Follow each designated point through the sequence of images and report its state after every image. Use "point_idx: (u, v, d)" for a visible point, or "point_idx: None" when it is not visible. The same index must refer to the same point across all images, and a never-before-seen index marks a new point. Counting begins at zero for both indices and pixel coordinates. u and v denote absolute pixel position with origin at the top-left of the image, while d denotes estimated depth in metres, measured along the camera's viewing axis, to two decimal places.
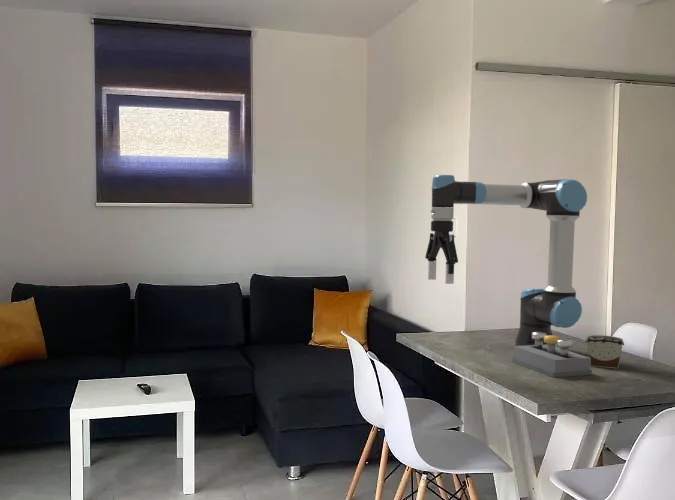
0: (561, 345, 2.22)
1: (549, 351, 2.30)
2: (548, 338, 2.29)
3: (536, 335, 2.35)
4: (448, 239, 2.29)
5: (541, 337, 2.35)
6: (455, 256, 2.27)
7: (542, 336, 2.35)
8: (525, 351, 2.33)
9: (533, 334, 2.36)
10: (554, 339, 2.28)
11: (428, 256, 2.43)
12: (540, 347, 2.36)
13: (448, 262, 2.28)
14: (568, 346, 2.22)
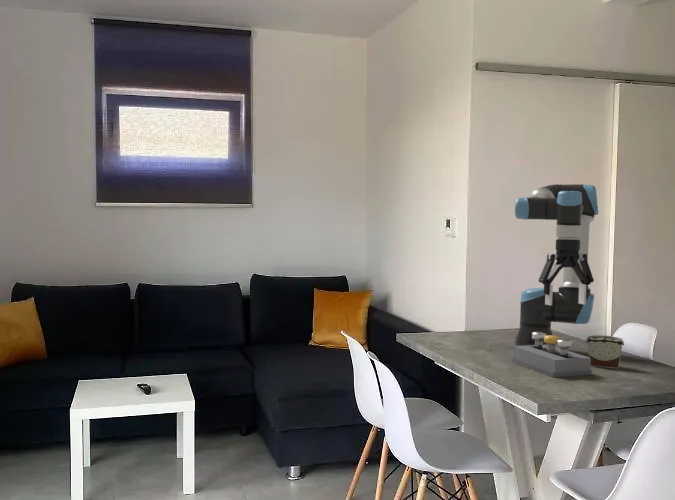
0: (561, 345, 2.22)
1: (549, 351, 2.30)
2: (548, 338, 2.29)
3: (536, 335, 2.35)
4: (547, 258, 2.21)
5: (541, 337, 2.35)
6: (543, 276, 2.19)
7: (542, 336, 2.35)
8: (525, 351, 2.33)
9: (533, 334, 2.36)
10: (554, 339, 2.28)
11: None
12: (540, 347, 2.36)
13: None
14: (568, 346, 2.22)
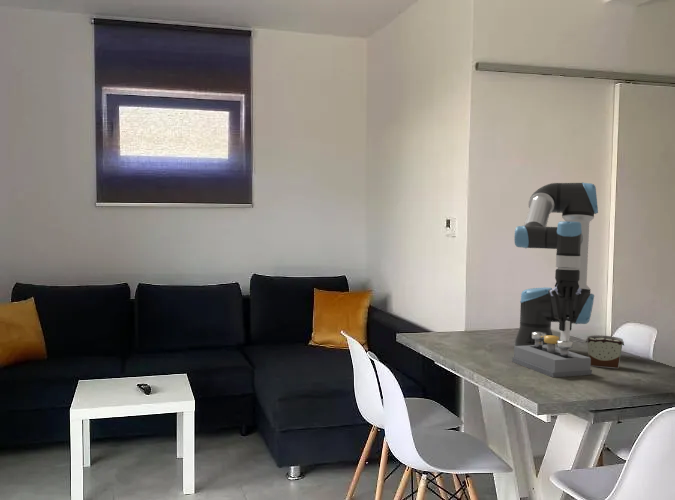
0: (561, 346, 2.22)
1: (549, 351, 2.30)
2: (548, 338, 2.29)
3: (536, 335, 2.35)
4: (550, 295, 2.22)
5: (541, 337, 2.35)
6: (556, 313, 2.21)
7: (542, 336, 2.35)
8: (525, 351, 2.33)
9: (533, 334, 2.36)
10: (554, 339, 2.28)
11: None
12: (540, 347, 2.36)
13: (558, 319, 2.24)
14: (568, 347, 2.22)
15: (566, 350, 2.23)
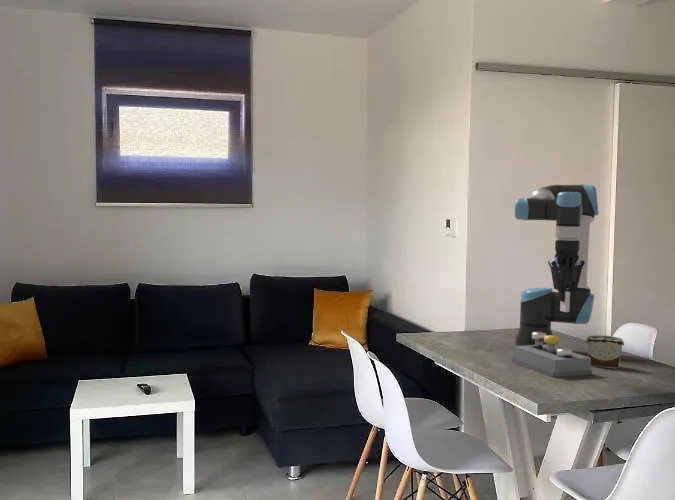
0: (561, 354, 2.22)
1: (549, 351, 2.30)
2: (548, 338, 2.29)
3: (536, 335, 2.35)
4: (550, 266, 2.22)
5: (541, 337, 2.35)
6: (556, 284, 2.22)
7: (542, 336, 2.35)
8: (525, 351, 2.33)
9: (533, 334, 2.36)
10: (554, 339, 2.28)
11: None
12: (540, 347, 2.36)
13: (558, 290, 2.25)
14: (568, 355, 2.22)
15: None
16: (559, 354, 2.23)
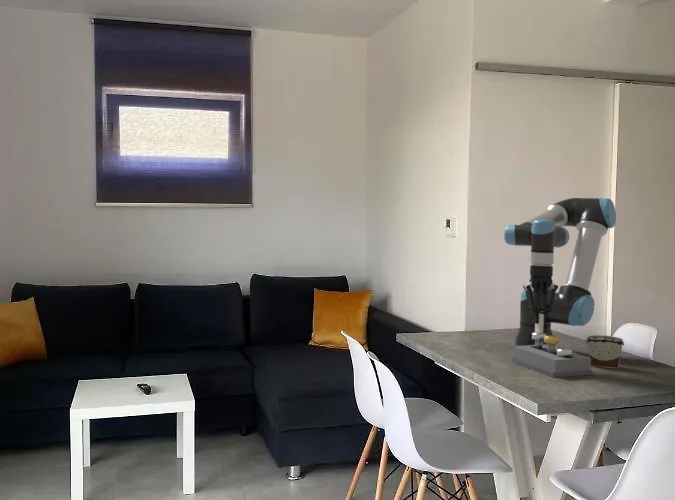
0: (561, 354, 2.22)
1: (549, 351, 2.30)
2: (548, 338, 2.29)
3: (536, 335, 2.35)
4: (525, 289, 2.35)
5: (541, 338, 2.35)
6: (531, 307, 2.35)
7: (542, 336, 2.35)
8: (525, 351, 2.33)
9: (533, 334, 2.36)
10: (554, 339, 2.28)
11: None
12: (540, 347, 2.36)
13: (533, 312, 2.37)
14: (568, 355, 2.22)
15: None
16: (559, 354, 2.23)
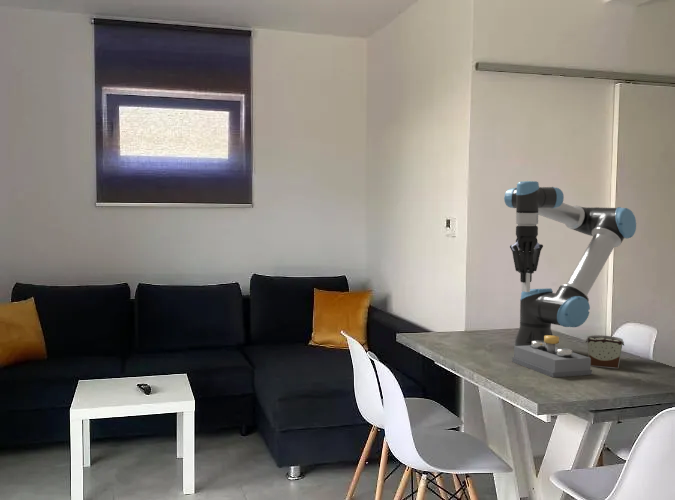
0: (561, 354, 2.22)
1: (549, 351, 2.30)
2: (548, 338, 2.29)
3: (536, 344, 2.35)
4: (512, 250, 2.41)
5: (540, 346, 2.35)
6: (518, 266, 2.40)
7: (542, 345, 2.35)
8: (525, 351, 2.33)
9: (533, 343, 2.37)
10: (554, 339, 2.28)
11: None
12: None
13: (519, 272, 2.43)
14: (568, 355, 2.22)
15: None
16: (559, 354, 2.23)
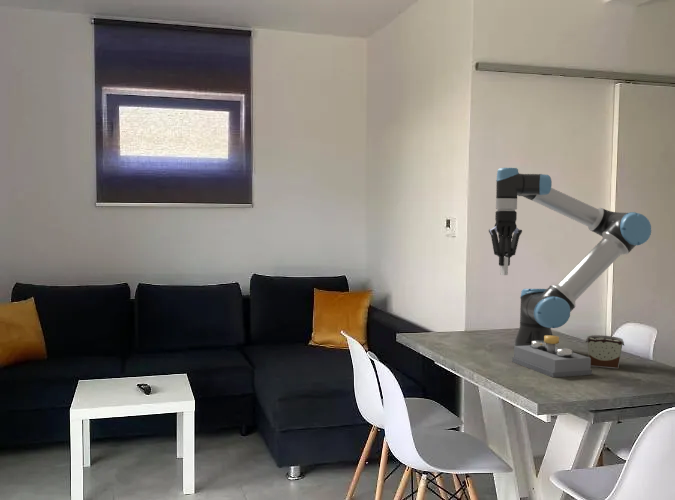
0: (561, 354, 2.22)
1: (549, 351, 2.30)
2: (548, 338, 2.29)
3: (536, 344, 2.35)
4: (490, 233, 2.49)
5: (540, 346, 2.35)
6: (496, 250, 2.49)
7: (542, 345, 2.35)
8: (525, 351, 2.33)
9: (533, 343, 2.37)
10: (554, 339, 2.28)
11: None
12: None
13: (498, 255, 2.51)
14: (568, 355, 2.22)
15: None
16: (559, 354, 2.23)
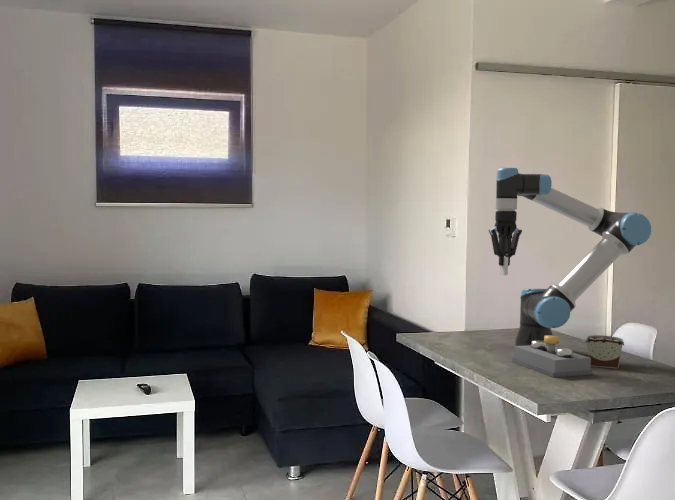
0: (561, 354, 2.22)
1: (549, 351, 2.30)
2: (548, 338, 2.29)
3: (536, 344, 2.35)
4: (490, 233, 2.49)
5: (540, 346, 2.35)
6: (496, 250, 2.49)
7: (542, 345, 2.35)
8: (525, 351, 2.33)
9: (533, 343, 2.37)
10: (554, 339, 2.28)
11: None
12: None
13: (498, 255, 2.51)
14: (568, 355, 2.22)
15: None
16: (559, 354, 2.23)
